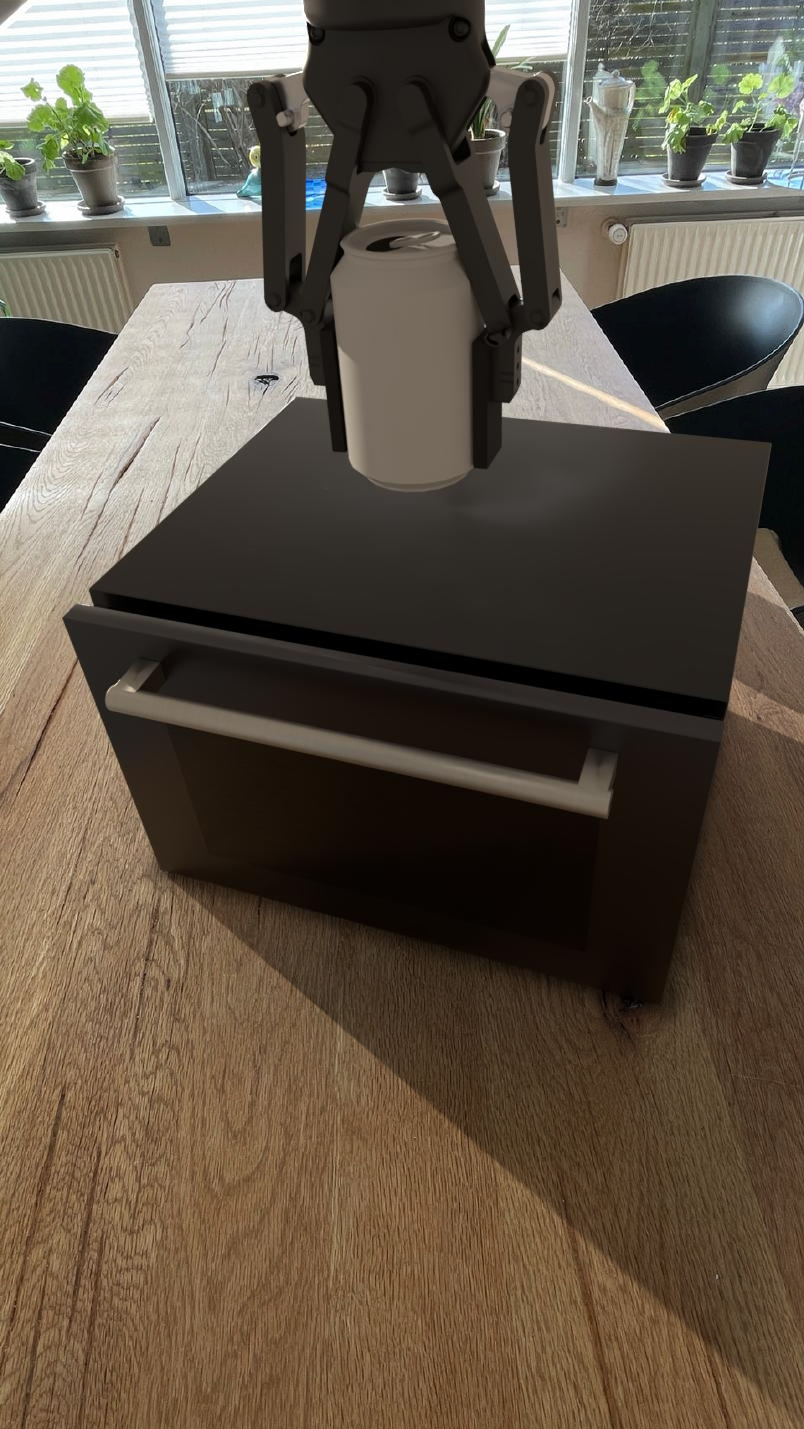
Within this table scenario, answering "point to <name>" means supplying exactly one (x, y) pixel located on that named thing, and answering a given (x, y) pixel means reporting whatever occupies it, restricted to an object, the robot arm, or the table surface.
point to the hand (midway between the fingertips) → (416, 448)
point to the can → (406, 353)
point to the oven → (476, 558)
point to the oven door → (409, 794)
